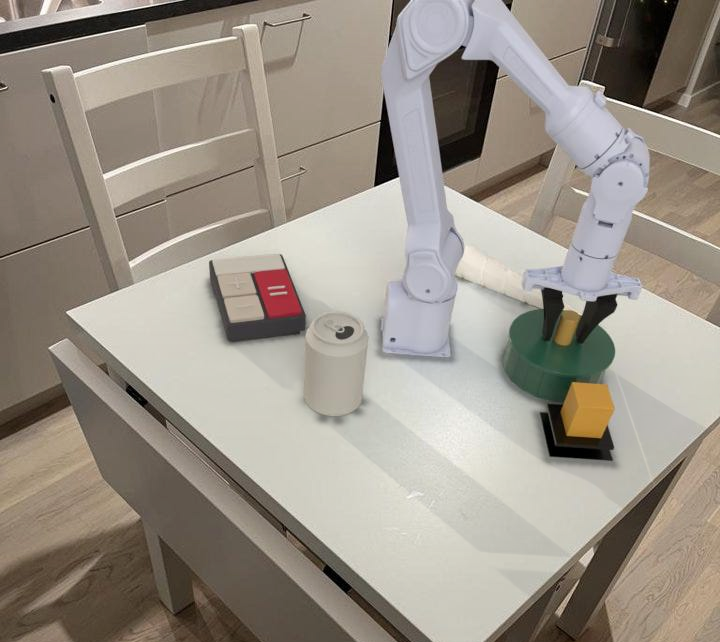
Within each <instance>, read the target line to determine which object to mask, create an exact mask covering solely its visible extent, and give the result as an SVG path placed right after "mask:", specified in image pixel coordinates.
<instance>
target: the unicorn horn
mask: <svg viewBox="0 0 720 642" xmlns="http://www.w3.org/2000/svg"><path fill="white" fill-rule="evenodd" d="M455 276H456V277H457V278H460V279H464V280H465V281H467V282H470V283H474V284H476V285H478V286H481V287H485V288H486V289H489V290H491V291H494V292H497V293H499V294H502V295H506V296H507V297H510V298H512V299H515V300H517V301H520V302H522V303H526V304H528V305H530V306H532V307H533V306H534V307H536V308H537V309H543V299H542V293H541V289H532V291H523V287H522V278H523V276H522V275H520V274H519V273H516V272H515V271H513V270H512V269H510V268H506V266H505V265H503V264H502V263H500V262H498V261H497V260H495V259H494V258H492V257H490V256H488V257H487V254H485V253H483V252H482V251H480V250H479V249H477V248H476V247H474V246H471V245H464V254H463V257H462V258H461V260H460V262H459V264H458V266H457V269H456V272H455V274H454V277H455ZM563 303H564V309H563V310H572V311H575V312H577V313H578V314H579V315H581V316H582V314H583V313H580V312H579V311H578V310H576V309H575V308H573V307H571V306H570V305H566V303H565V302H563Z"/></svg>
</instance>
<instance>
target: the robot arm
mask: <svg viewBox="0 0 720 642" xmlns="http://www.w3.org/2000/svg"><path fill="white" fill-rule="evenodd" d="M395 25H396V26H395V28H394V31H393V34H392V35H391V40H390V42H389V45H388V46H387V47H388V48H387V50H386V53H385V56H384V59H383V61H382V64H381V68H380V73H381V83H382V88H383V93H384V99H385V105H386V110H387V116H388V122H389V127H390V133H391V138H392V144H393V149H394V155H395V156H394V157H395V161H396V166H397V172H398V176H399V177H398V178H399V183H400V190H401V194H402V199H403V200H402V201H403V207H404V212H405V217H406V223H407V230H406V238H405V247H404V254H405V261H406V262H405V267H404V269H403V273H402V278H401V279H396V280H388V281H387V284H386V291H385V299H384V304H383V305H384V306H383V315H382V317H381V319H380V331H381V332H382V352H383V353H388V354H402V355H412V356H413V355H414V356H428V357H429V356H430V357H441V358H449V357H451V355H452V354H451V346H450V336H449V330H450V326H451V320H452V315H453V311H454V306H455V302H456V296H457V292H458V283H457V280H456V277H455V275H454V274H455V272H456V269H457V266H458V264H459V262H460V260H461V258H462V257H463V254H464V247H465V241H464V239H463V236H462V235H461V234H460V232H459V231H458V230H457V228H456V226H455V220H454V219H455V218H454V215H453V214H452V213H451V212H450V210H448V204H447V197H446V191H445V189H446V188H445V183H444V175H443V174H444V173H443V167H442V161H441V153H440V146H439V140H438V139H439V137H438V131H437V125H436V117H435V110H434V101H433V96H432V95H433V94H432V89H431V80H430V75H431V74H432V72H433V71H434V70H435V68H436V67H437V66H438V64H439V63H441V62H442V61H444V60H445V59H447V58H449V57H450V56H451V55H453V54H455V52H457V51H458V50H459V48H461V46H463V47H465V49H464V51H463V54H462V56H461V60H463V61H491V62H493V63H494V64H496V66H497V67H499V69H500V70H501V71H503V73H505V75H506V76H508V77H509V78H510V79H511V80H512V81H513V82H514V83H515V85H516V86H518V87H519V88H520V89H521V90H522V91H523V92H524V93H525V94H526V95H527V96H528V97H529V99H531V100H532V101H533V102H534V103H535V105H537V106H538V107H539V108H540V109H541V110H542V111H543V112H544V115H545V119H544V132H545V133H546V134H547V135H548V136H549V138H550V139H552V140H553V142H554V143H555V144H556V145H557V146H558V147H559V148H560V150H562V152H564V154H566V156H567V157H568V158H569V159H570V160H571V161H572V163H574V164H575V166H576V167H577V168H578V169H579V170H580V171H581V173H583V174H585V175H587V177H589V178H591V182H590V184H591V185H590V186H591V187H590V190H589V193H588V196H587V199H586V200H585V202H584V203H583V205H582V207H581V210H580V213H579V217H578V220H577V223H576V225H575V229H574V232H573V234H572V239H571V241H570V244H569V247H568V249H567V252H566V256H565V259H564V261H563V265H559V266H551V267H544V268H535V269H528V268H525V269H524V271H523V275H522V277H523V278H522V287H523V291H532V289H541V293H542V299H543V309H544V321H543V330H542V334H543V338H544V341H550V339H551V337H552V334H553V331H554V328H555V324H556V322H557V320H558V317H559V315H560V314H561V312H562V310H563V309H564V303H565V302H564V300H563V299H564V294H563V293H566V294H570V295H574V296H577V297H578V299H579V300H580V301H583V302H585V305H584V307H583V311H582V313H581V314H582V316H581V319H580V321H579V324H578V326H577V330H576V338H577V341H578V343H579V344H583V343H584V341H585V340H586V339H587V337H588V336H589V335H590V333H591V332H592V331H593V330H594V329H595V327H596V326H597V325H599V324H600V323H601V322H603V321H604V320H606V318H608V317H609V316H611V315H612V314H614V313H615V312H616V310H617V308H618V302H617V297H618V296H620V297H621V296H622V297H627V298H628V299H629V300H632V301H633V300H635V301H638V299H639V297H640V294H641V292H642V289H643V284H642V283H641V280H640V278H639V277H634V276H633V277H632V276H627V275H623V274H620V273H615V272H613V269H614V266H615V263H616V261H617V258H618V256H619V253H620V251H621V248H622V245H623V243H624V240H625V238H626V235H627V232H628V230H629V227H630V224H631V222H632V219H633V212H634V211H635V209H636V207H637V204H638V203H641V201H642V200H643V199H644V197H645V196H646V195H647V194H648V191H649V188H648V185H649V181H650V168H651V167H650V165H651V155H650V151H649V148H648V146H647V144H646V143H645V139H644V137H643V136H641V135H639V134H638V133H637V134H636V133H635V132H634V131H633V130H632V129H631V128H630V127H627V128H624V127H623V125H621V123H620V122H619V121H618V119H616V118H615V117H614V115H613V114H612V113H611V112H610V111H609V109H607V107H606V104H607V97H606V96H605V95H604V93H603V92H602V91H601V90H597V92H595V93H594V92H593V91H592V90H591V89H590V88H589V87H588V86H585V85H569V84H568V83H567V81H566V80H565V79H564V78H563V77H562V75H561V74H560V73H559V72H558V69H556V68H555V66H554V65H553V64H552V63H551V61H550V60H549V59H548V57H546V55H545V53H543V51H542V50H541V49H540V48H539V46H538V45H537V44H536V42H535V41H534V40H533V38H532V37H531V36H530V35H529V33H528V32H527V31H526V29H524V27H523V26H522V25H521V23H520V22H519V21H518V20H517V19H516V17H515V16H514V14H513V12H511V11H510V10H509V8H508V6H506V4H505V3H504V1H503V0H410V1H409V2H408V3H407V4H406V5H405V7H404V8H403V9H402V11H401V12H400V13H399V14H398V16H397V18H396V24H395Z"/></svg>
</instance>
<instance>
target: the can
mask: <svg viewBox="0 0 720 642" xmlns="http://www.w3.org/2000/svg"><path fill="white" fill-rule="evenodd" d="M368 346H369V334H368V332H367V330H366V329H365V325H364V323H363V321H362V320H361V319H360V318H359V317H358V316H356V315H355V314H352V313H350V312H347V311H343V310H329V311H328V310H327V311H325V312H322V313H320V314H318V315H316V316H315V317H314V319H312V321H311V324H310V325H309V327H307V329H306V332H305V341H304V370H303V371H304V374H303V398H304V402H305V403H306V405H307V406H308V407H309V408H310V410H313V411H314V412H316V413H317V414H321V415H324V416H329V417H330V416H331V417H341V416H345V415H348V414H351V413H353V412H355V411H356V410H357V409H359V407H360V405H361V404H362V400H363V392H364V384H365V383H364V382H365V373H366V366H367V356H368V354H367V353H368V348H369V347H368Z"/></svg>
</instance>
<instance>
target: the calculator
mask: <svg viewBox="0 0 720 642" xmlns="http://www.w3.org/2000/svg"><path fill="white" fill-rule="evenodd" d="M208 269H209V270H208V271H209V279H210V285H211V288H212V292H213V295H214V297H215V301H216V304H217V308H218V311H219V315H220V319H221V321H222V325H223V329H224V333H225V336H226V339H227V341H228V342H229V343H233V342H241V341H242V342H243V341H251V340H257V339H266V338H275V337H282V336H290V335H299V334H301V332H303V331H305V330H306V322H307V321H306V319H307V318H306V317H307V315H306V313H305V310H304V307H303V304H302V303H301V299H300V297H299V295H298V291H297V289H296V286H295V284H294V282H293V279H292V276H291V273H290V271H289V269H288V266H287V263H286V260H285V257H284V256H283V254H281V253H271V254H259V255H249V256H238V257H227V258H216V259H211V260H209V261H208Z"/></svg>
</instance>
